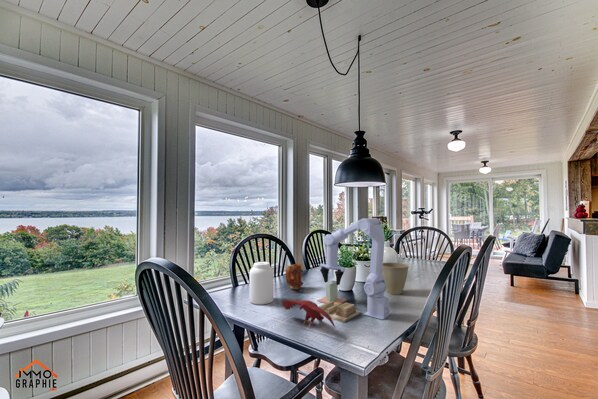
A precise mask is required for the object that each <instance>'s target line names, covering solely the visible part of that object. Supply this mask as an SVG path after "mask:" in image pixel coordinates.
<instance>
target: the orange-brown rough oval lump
mask: <svg viewBox="0 0 598 399" xmlns="http://www.w3.org/2000/svg"><path fill="white" fill-rule="evenodd" d="M303 272H304V270H303V269H302V265H301V264H299V263H294V264H290V265H287V266H286V270H285V281H286V283H287V285H289V289H291V290H301V289H302V286H303V285H304V282H303V281H302V273H303Z"/></svg>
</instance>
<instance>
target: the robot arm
mask: <svg viewBox="0 0 598 399" xmlns="http://www.w3.org/2000/svg"><path fill="white" fill-rule="evenodd" d="M357 231H361V232H362V233H364V234H365V235H367V236H368V237H369V238H370V239H371V240H372V241H371V252H370V267H369V268H370V269H369V274H368V276H367V277H366V280H365V284H364V285H363V290H364V292H365V294H366V297H367V298H366V299H367V300H366V301H367V302H366V303H367V304H366V305H367V307H366V308H367V309H366V310H367V311H365V312H364V313H363V316H367V317H371V318H375V319H378V320H385V319H386V318H388V317H389V316H391V312H390V310H391V309H390V304H391V303H390V299H389V297H387V296H385V295H384V294H385V292H386V290H387V288H386V283H385V277H384V276H383V274H382V270H383V263H384V256H385V241H386V235H385V232H384V230H383V223H382V221H381V220H380V219H379V218H377V217H370V218H369V217H367V218H365V217H364V218H361V219H359V220H357V221H355V222H354V223H352V224H351V225H348V226H347V227H346V228H344V227H339V228H337V230H334V231H332V232H331V234H330V233H329V234H326V235H325V236H324V237H323V242H324V244H325V245H326V248H325V249H326V251H325V252H326V258H325V260H326V263H319V268H320V269H319V271H320V272H321V275H322V278H323V282H324V283H325V284H326V283H329V271H330V270H332V271H333V270H334V274H335V281H336V284H337V285H338V286H340V285H341V281H342V278H343V275H344V273H345V271H346V268H345V266H342V265H341V266H340V265H338V248H339V243H341V242H342V241H344V240H346V239H348V238H349V235H351V234H353V233H356V232H357Z"/></svg>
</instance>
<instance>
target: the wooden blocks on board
mask: <svg viewBox="0 0 598 399" xmlns="http://www.w3.org/2000/svg"><path fill="white" fill-rule="evenodd" d="M342 304H343V303H338V304H336V305H335V304H334V301H331V302H328V303H326V304H325V303H323V304H322V305H319V306H318V307H319V308H321V309H322V310H324V311H325V312H326V313H328V314H329V316H330V317H331V319H332V320H335V321H338V322H341V323H346V322H347V321H349V320H351V319H353V318H355V317H356V316H358V315H360V314H361V310H357V309H356V312H355V313H353V314H351V315H350V316H348V317H346V318H344V317H341V316H337V315H336V311H337V307H338V306H340V305H342ZM320 314H321V313H320ZM321 315H322V314H321ZM322 316H323V317H324V318H326V317H325V316H324V315H322Z"/></svg>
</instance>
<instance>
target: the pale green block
mask: <svg viewBox="0 0 598 399" xmlns="http://www.w3.org/2000/svg"><path fill="white" fill-rule="evenodd" d="M338 286H339V285H337V284H336V280H332V281H330V282H329V281H328V282H326V283H325V287H326V289H325V292H326V293H325V295H326V296H325V297H326V301H328V302H331V301H334V300H336V299H338V297H339V295H338V294H339V292H338V291H339V287H338Z"/></svg>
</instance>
